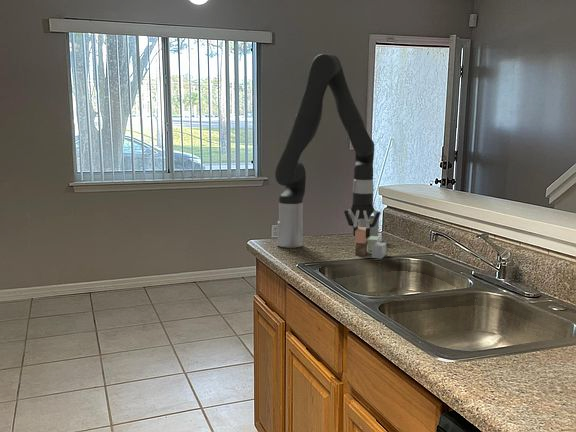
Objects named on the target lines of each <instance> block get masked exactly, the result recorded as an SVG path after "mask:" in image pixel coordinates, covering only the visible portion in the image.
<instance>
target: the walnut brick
mask: <svg viewBox="0 0 576 432" xmlns="http://www.w3.org/2000/svg"><path fill="white" fill-rule="evenodd" d="M354 252H355V256H359V257H360V256H363V257H365V256H366V255H367V253H368V243H367V241H366V242H365V243H364V244H363V243H355V251H354Z"/></svg>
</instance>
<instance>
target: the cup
mask: <svg viewBox="0 0 576 432" xmlns="http://www.w3.org/2000/svg"><path fill="white" fill-rule="evenodd" d="M374 218H375V216H374V215H371V216H370V223H371V224H372V223H373V220H374ZM379 224H380V218H379V219H378V221H377V223H376V225H375V226H374V227H371V229H370V236H379V226H380V225H379ZM357 227H358V228H359V227H366V222H365V219H359V222H358V226H357ZM370 236H369V237H368V239H369V238H370ZM367 244H368V240H367Z"/></svg>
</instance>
